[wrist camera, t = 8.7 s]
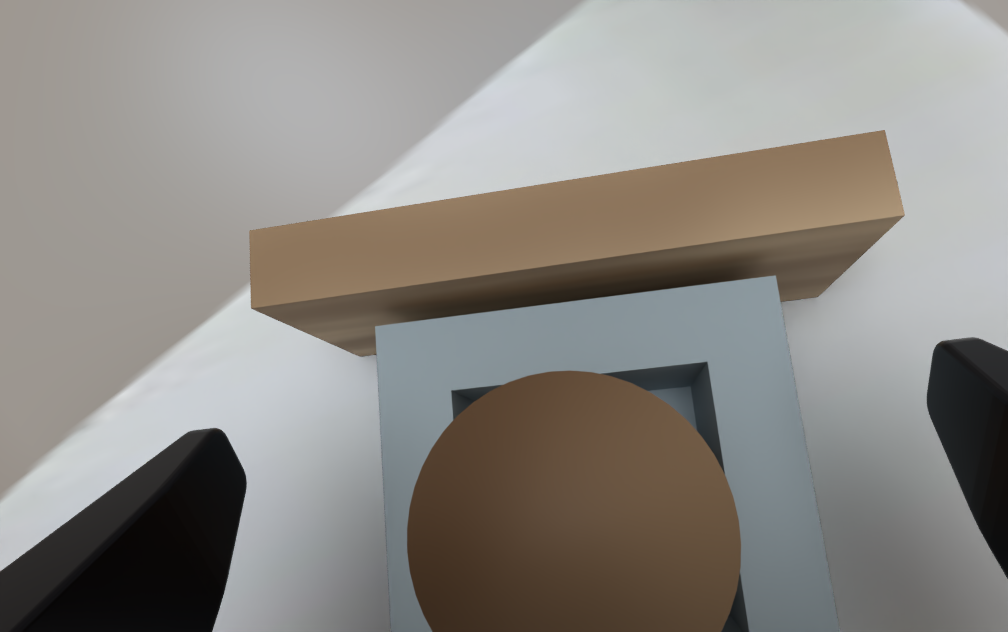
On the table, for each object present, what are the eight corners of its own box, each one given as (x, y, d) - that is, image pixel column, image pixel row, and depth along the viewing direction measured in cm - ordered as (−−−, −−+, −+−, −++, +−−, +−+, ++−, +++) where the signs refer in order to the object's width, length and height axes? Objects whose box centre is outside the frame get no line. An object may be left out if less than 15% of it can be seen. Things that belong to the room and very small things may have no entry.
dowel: (701, 462, 17) (792, 449, 8) (643, 608, 17) (663, 786, 7) (561, 402, 18) (486, 322, 9) (502, 540, 18) (353, 618, 8)
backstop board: (817, 296, 18) (904, 215, 13) (359, 356, 20) (250, 308, 14) (805, 236, 19) (884, 130, 13) (356, 300, 20) (249, 230, 15)
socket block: (794, 662, 17) (858, 735, 12) (458, 680, 18) (396, 753, 13) (738, 326, 19) (775, 275, 14) (436, 362, 20) (375, 326, 15)
